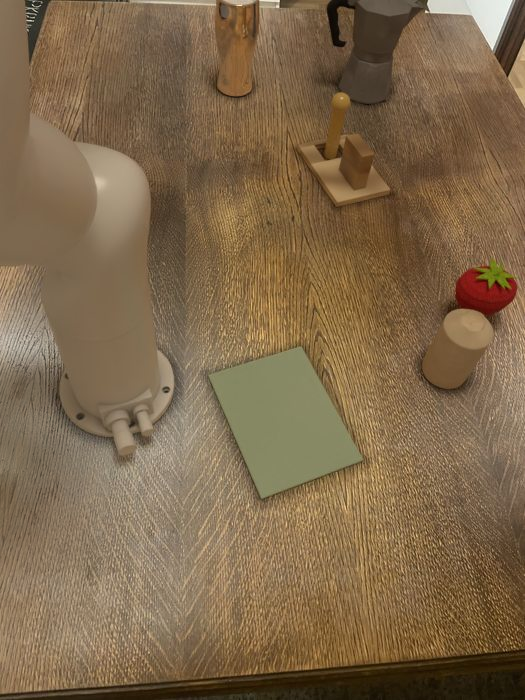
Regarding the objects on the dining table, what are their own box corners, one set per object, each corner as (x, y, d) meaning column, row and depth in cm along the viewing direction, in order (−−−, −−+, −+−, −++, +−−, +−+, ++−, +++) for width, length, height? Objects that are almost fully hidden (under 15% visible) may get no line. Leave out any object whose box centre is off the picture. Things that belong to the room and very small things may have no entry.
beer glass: (262, 84, 105) (269, -7, 92) (240, 103, 101) (244, 10, 89) (229, 70, 106) (232, -21, 94) (206, 88, 103) (205, -5, 91)
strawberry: (436, 299, 80) (462, 245, 71) (490, 297, 81) (522, 243, 72) (449, 335, 76) (477, 283, 68) (505, 333, 77) (540, 281, 69)
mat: (362, 461, 66) (363, 459, 65) (261, 500, 62) (261, 498, 62) (301, 347, 74) (301, 345, 73) (207, 376, 70) (207, 374, 70)
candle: (456, 397, 71) (489, 349, 63) (414, 375, 72) (440, 325, 64) (472, 365, 74) (505, 315, 66) (431, 344, 75) (459, 292, 67)
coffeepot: (396, 76, 110) (425, -32, 95) (405, 107, 104) (437, -2, 90) (312, 72, 108) (328, -38, 94) (316, 103, 103) (334, -9, 88)
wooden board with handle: (296, 149, 95) (302, 109, 90) (346, 138, 98) (355, 99, 92) (336, 207, 88) (345, 168, 83) (389, 194, 91) (401, 155, 85)
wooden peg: (342, 159, 95) (355, 97, 86) (326, 162, 94) (338, 101, 85) (334, 148, 96) (346, 87, 88) (318, 151, 96) (329, 90, 87)
